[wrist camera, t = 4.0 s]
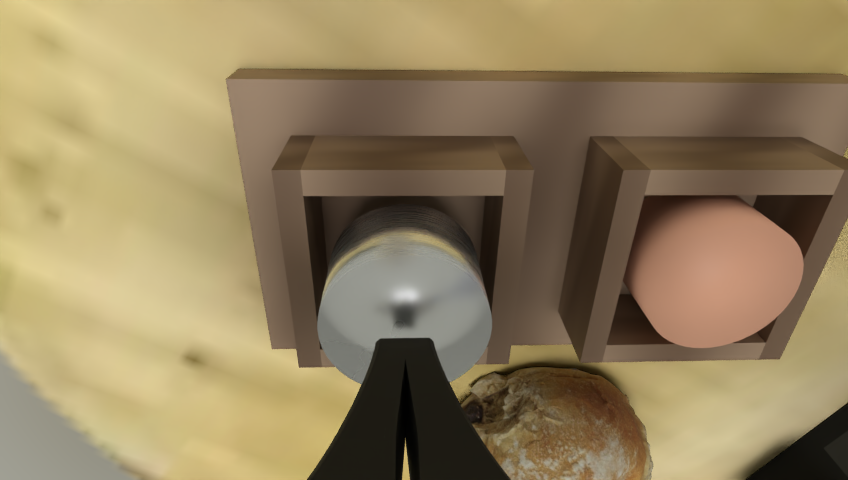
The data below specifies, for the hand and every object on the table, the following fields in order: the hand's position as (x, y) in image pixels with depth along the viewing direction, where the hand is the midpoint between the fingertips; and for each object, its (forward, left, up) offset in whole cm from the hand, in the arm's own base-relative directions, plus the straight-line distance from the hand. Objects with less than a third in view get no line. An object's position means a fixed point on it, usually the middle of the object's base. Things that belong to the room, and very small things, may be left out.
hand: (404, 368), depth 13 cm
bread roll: (-7, +13, -9) cm, 17 cm away
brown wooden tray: (-5, 0, -8) cm, 10 cm away
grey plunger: (0, 0, -4) cm, 4 cm away
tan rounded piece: (-10, 0, -6) cm, 12 cm away
